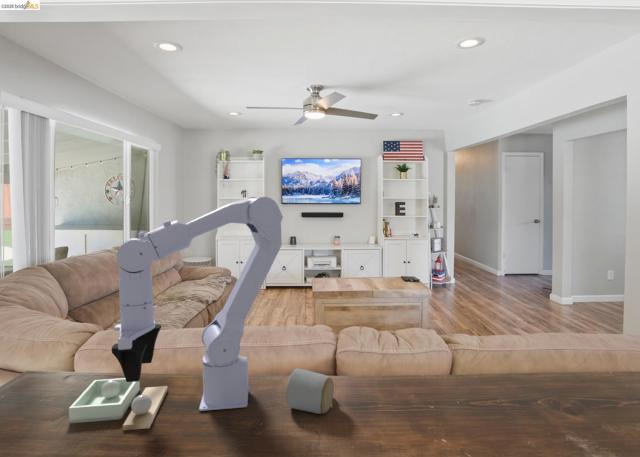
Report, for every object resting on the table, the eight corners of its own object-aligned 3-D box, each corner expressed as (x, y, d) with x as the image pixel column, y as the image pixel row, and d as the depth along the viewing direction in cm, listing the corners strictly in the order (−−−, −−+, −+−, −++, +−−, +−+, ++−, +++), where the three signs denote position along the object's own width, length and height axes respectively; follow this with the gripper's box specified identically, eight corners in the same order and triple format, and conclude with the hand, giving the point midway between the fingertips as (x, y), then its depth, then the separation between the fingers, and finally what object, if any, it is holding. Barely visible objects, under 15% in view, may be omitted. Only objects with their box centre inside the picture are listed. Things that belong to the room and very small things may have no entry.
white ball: (123, 392, 82) (122, 376, 82) (116, 400, 78) (116, 383, 78) (105, 394, 81) (104, 377, 81) (98, 402, 78) (97, 385, 77)
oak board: (167, 390, 84) (167, 385, 84) (149, 428, 70) (149, 423, 70) (145, 391, 83) (145, 387, 83) (123, 430, 69) (122, 425, 69)
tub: (139, 389, 84) (139, 376, 84) (121, 419, 73) (120, 404, 73) (95, 393, 83) (94, 380, 82) (69, 423, 72) (68, 408, 71)
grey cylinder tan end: (324, 423, 72) (324, 383, 71) (284, 414, 74) (284, 377, 74) (339, 396, 82) (339, 361, 81) (304, 390, 84) (304, 356, 84)
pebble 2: (154, 407, 75) (153, 390, 75) (149, 417, 72) (148, 399, 71) (135, 409, 75) (134, 391, 74) (128, 419, 71) (128, 401, 71)
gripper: (127, 293, 78) (130, 356, 79) (97, 314, 64) (101, 392, 65) (163, 291, 79) (166, 354, 80) (141, 312, 65) (144, 388, 66)
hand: (139, 371), depth 73 cm, fingers open, 7 cm apart
